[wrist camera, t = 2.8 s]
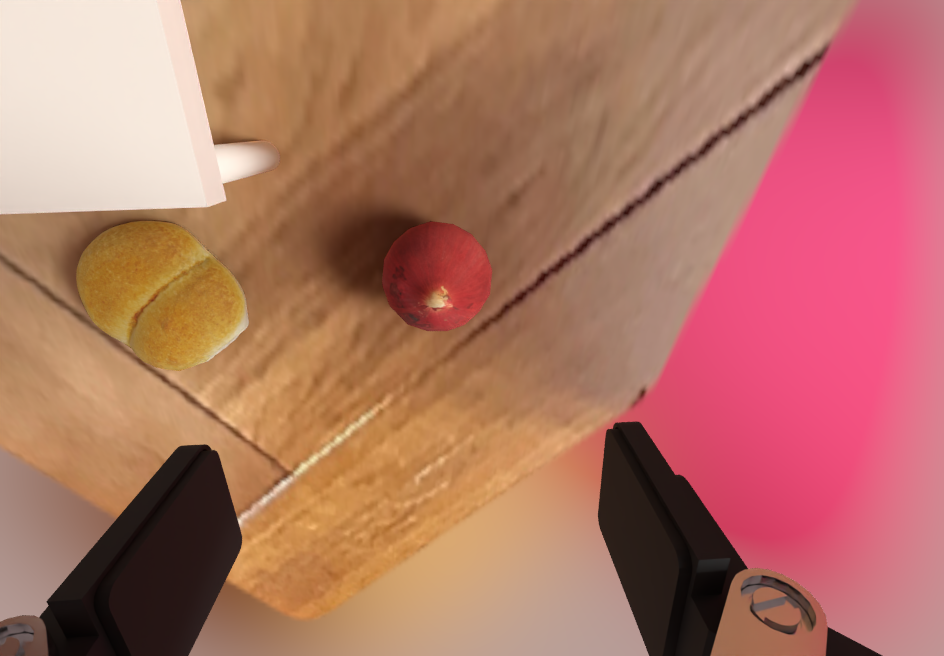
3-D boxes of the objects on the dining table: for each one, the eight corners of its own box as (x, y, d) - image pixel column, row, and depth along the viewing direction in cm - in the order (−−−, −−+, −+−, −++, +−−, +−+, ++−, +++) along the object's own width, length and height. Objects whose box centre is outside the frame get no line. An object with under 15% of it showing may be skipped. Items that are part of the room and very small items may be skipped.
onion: (434, 320, 30) (429, 383, 23) (370, 254, 28) (343, 300, 21) (504, 263, 29) (523, 311, 22) (443, 189, 27) (440, 215, 20)
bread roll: (154, 189, 27) (107, 199, 23) (275, 302, 30) (251, 328, 26) (68, 279, 28) (11, 302, 25) (191, 377, 31) (157, 411, 28)
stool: (243, -95, 22) (93, -253, 13) (290, 177, 26) (207, 207, 17) (-26, -91, 21) (-383, -251, 12) (72, 185, 26) (-131, 218, 17)
